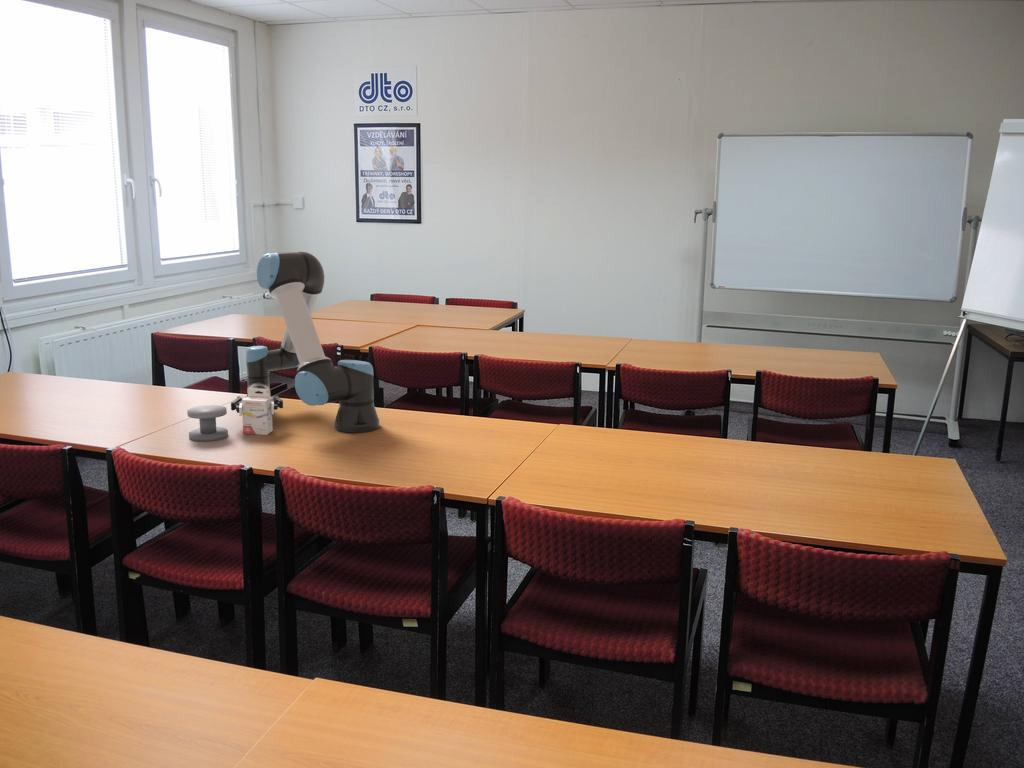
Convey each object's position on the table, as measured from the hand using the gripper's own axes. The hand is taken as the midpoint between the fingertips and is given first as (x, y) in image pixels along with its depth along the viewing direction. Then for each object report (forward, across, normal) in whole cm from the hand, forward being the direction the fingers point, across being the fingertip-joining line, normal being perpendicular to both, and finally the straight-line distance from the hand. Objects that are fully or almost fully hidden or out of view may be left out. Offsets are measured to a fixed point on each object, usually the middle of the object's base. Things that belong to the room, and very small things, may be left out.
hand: (256, 410), depth 271 cm
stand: (-3, +16, -8) cm, 18 cm away
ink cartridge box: (-4, 0, -9) cm, 10 cm away
